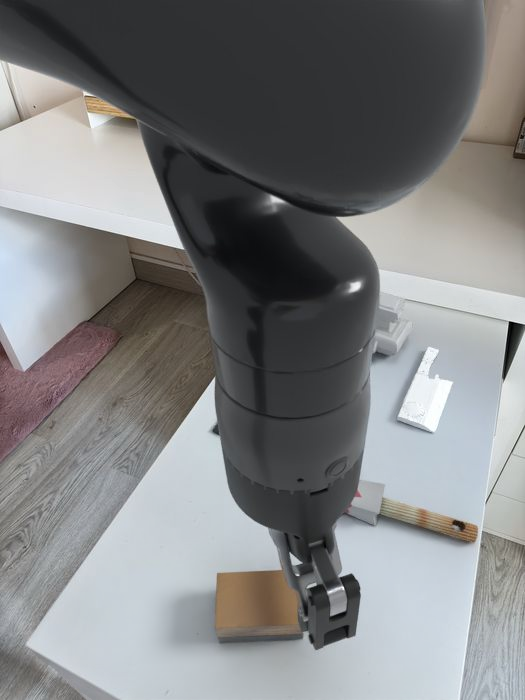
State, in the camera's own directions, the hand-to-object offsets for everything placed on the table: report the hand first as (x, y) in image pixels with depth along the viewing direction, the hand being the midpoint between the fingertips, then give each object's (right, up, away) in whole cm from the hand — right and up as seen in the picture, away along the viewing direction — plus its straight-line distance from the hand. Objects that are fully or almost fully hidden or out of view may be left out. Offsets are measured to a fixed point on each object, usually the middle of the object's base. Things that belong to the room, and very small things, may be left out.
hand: (293, 563), depth 37 cm
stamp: (+16, +16, +41) cm, 47 cm away
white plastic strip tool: (+21, +10, +34) cm, 41 cm away
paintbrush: (+11, -3, +21) cm, 24 cm away
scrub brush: (-2, -11, +13) cm, 17 cm away
